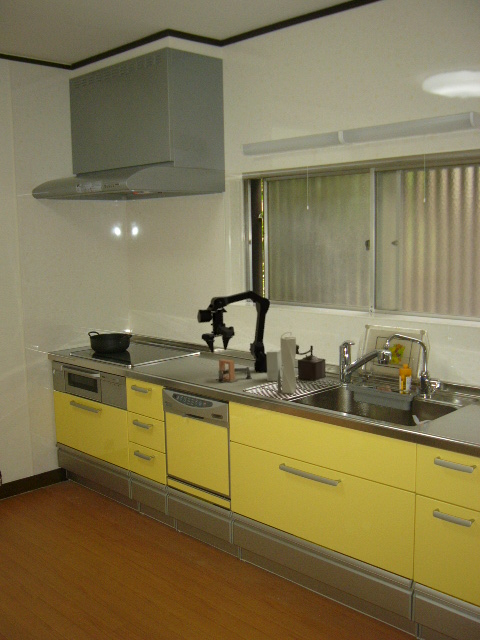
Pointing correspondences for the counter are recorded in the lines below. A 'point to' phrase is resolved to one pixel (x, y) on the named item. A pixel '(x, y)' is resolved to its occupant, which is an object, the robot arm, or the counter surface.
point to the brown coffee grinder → (310, 366)
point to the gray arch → (247, 369)
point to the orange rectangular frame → (231, 369)
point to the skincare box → (273, 364)
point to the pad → (229, 381)
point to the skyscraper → (287, 365)
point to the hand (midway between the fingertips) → (218, 351)
